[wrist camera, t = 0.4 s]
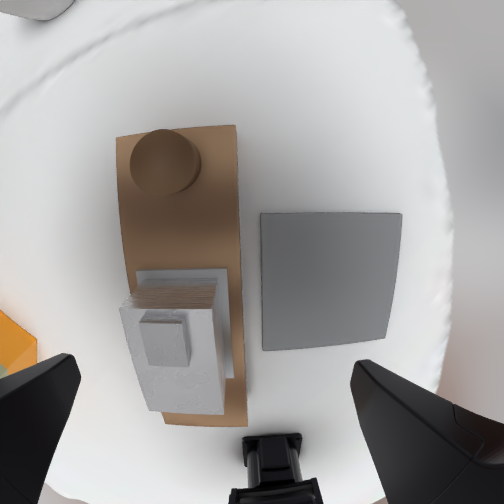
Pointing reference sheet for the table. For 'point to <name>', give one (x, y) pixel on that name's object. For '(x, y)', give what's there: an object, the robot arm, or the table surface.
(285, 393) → the table surface
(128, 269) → the hand plane
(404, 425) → the robot arm
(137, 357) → the lever cap
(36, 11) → the cup
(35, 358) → the orange juice
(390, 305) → the rubber mat
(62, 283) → the table surface
